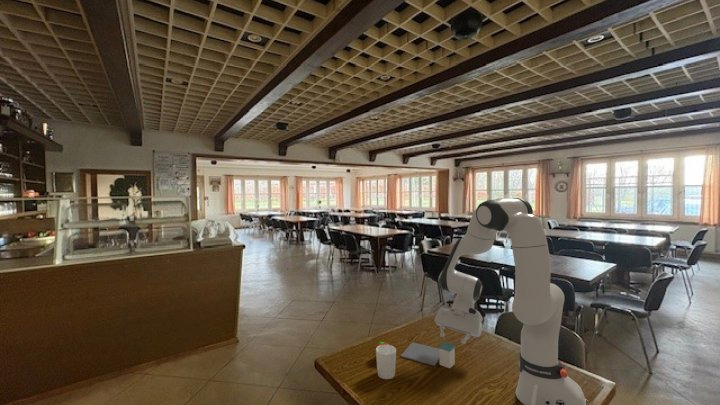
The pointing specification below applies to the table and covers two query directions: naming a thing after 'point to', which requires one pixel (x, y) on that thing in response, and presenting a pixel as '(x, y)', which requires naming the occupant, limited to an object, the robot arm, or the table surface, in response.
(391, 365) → the white cup
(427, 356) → the slate tile
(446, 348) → the block
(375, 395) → the table surface
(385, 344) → the clementine
